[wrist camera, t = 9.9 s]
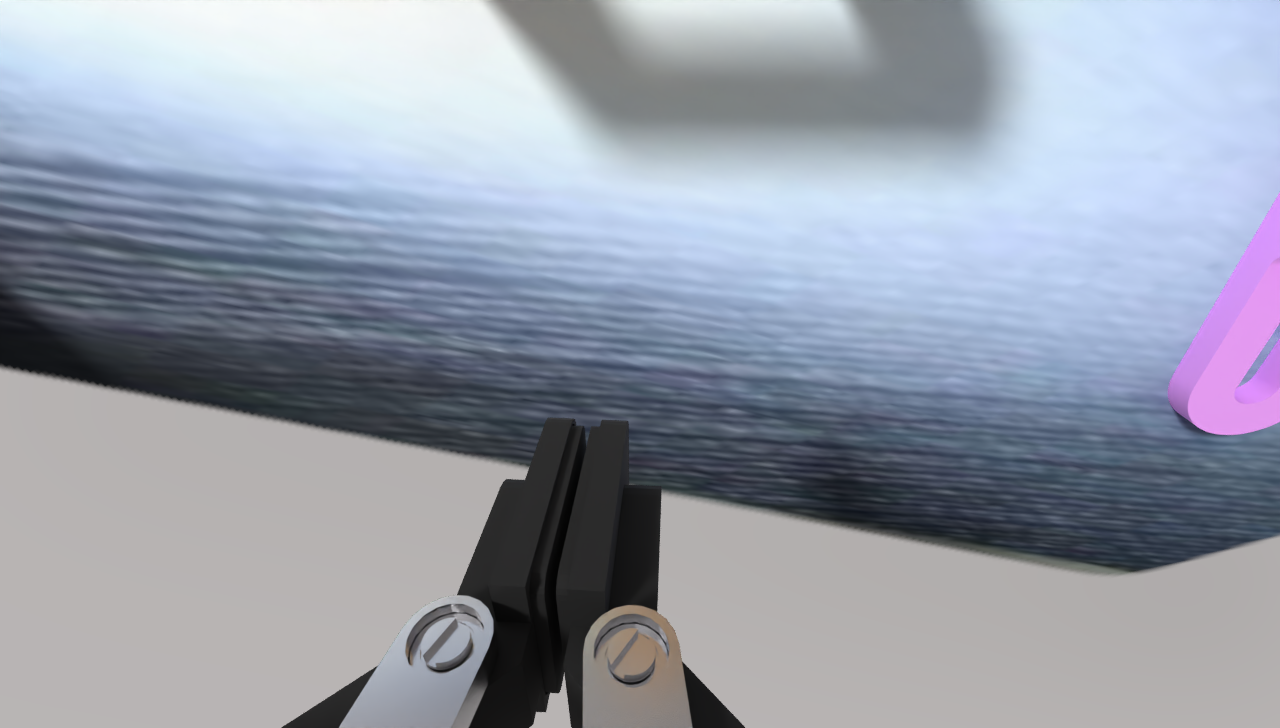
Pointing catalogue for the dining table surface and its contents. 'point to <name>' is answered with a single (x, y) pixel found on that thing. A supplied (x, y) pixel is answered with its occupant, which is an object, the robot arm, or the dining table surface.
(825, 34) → the dining table surface
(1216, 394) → the bracket
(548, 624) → the robot arm
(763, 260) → the dining table surface
